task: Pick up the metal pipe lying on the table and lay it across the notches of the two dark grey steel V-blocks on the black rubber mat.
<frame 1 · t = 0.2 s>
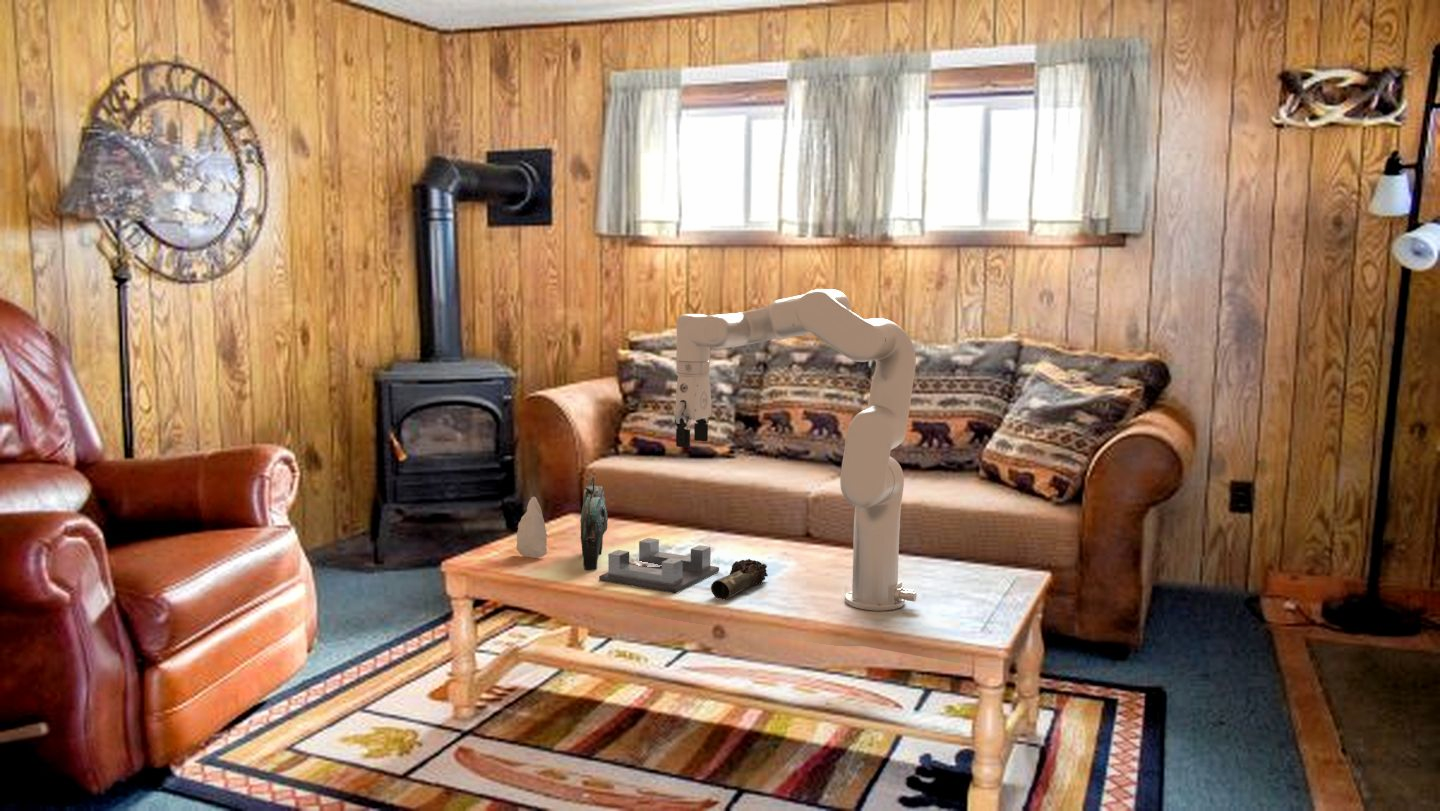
hand: (692, 443, 247), 30 cm above the table, tool pointing down, fingers open, 9 cm apart
stone tool: (531, 557, 265), on the table
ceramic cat: (594, 560, 263), on the table
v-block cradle: (660, 575, 250), on the table
metal pipe: (738, 590, 240), on the table
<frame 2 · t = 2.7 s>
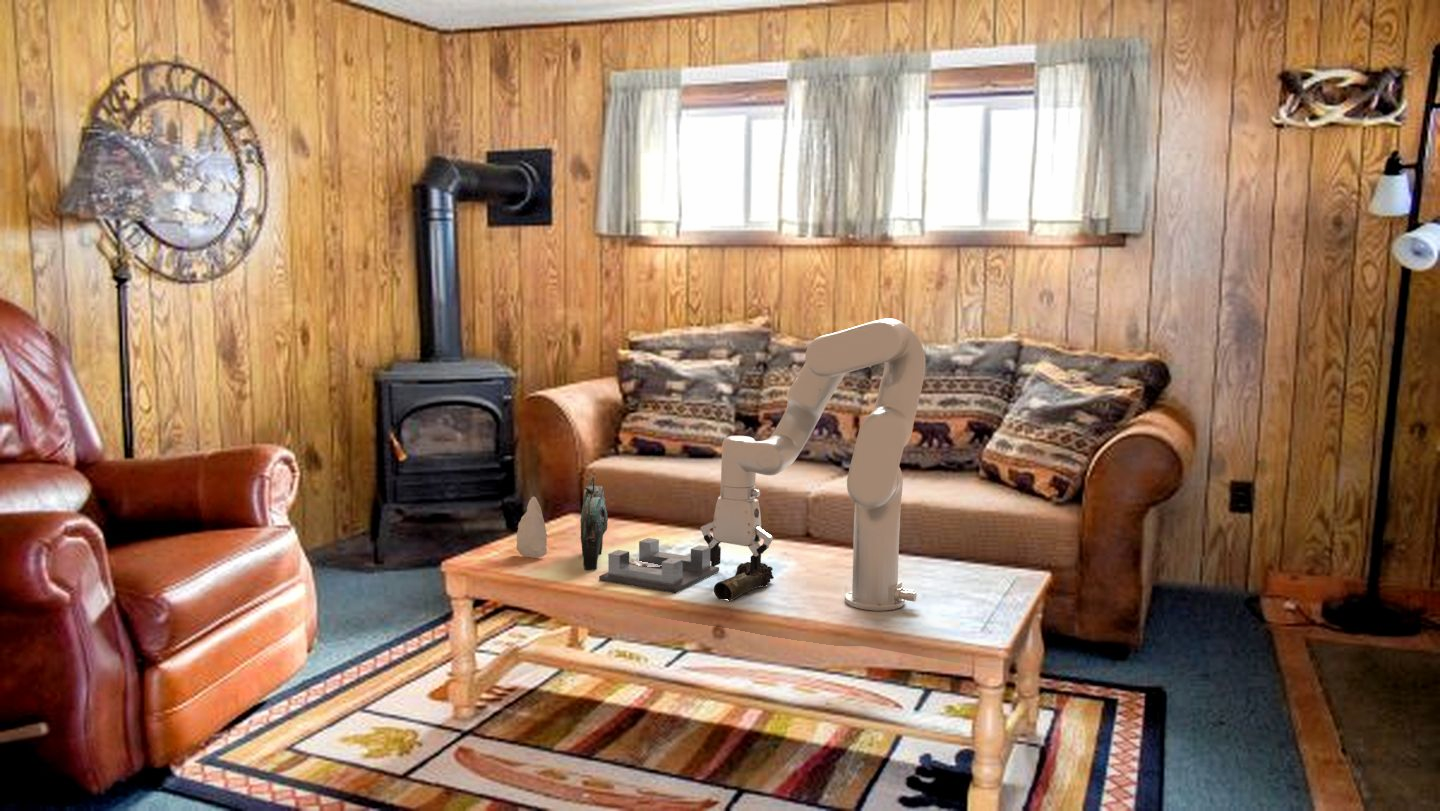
hand: (734, 568, 240), 4 cm above the table, tool pointing down, fingers open, 9 cm apart
metal pipe: (743, 592, 239), on the table, touching gripper
everything else where it was.
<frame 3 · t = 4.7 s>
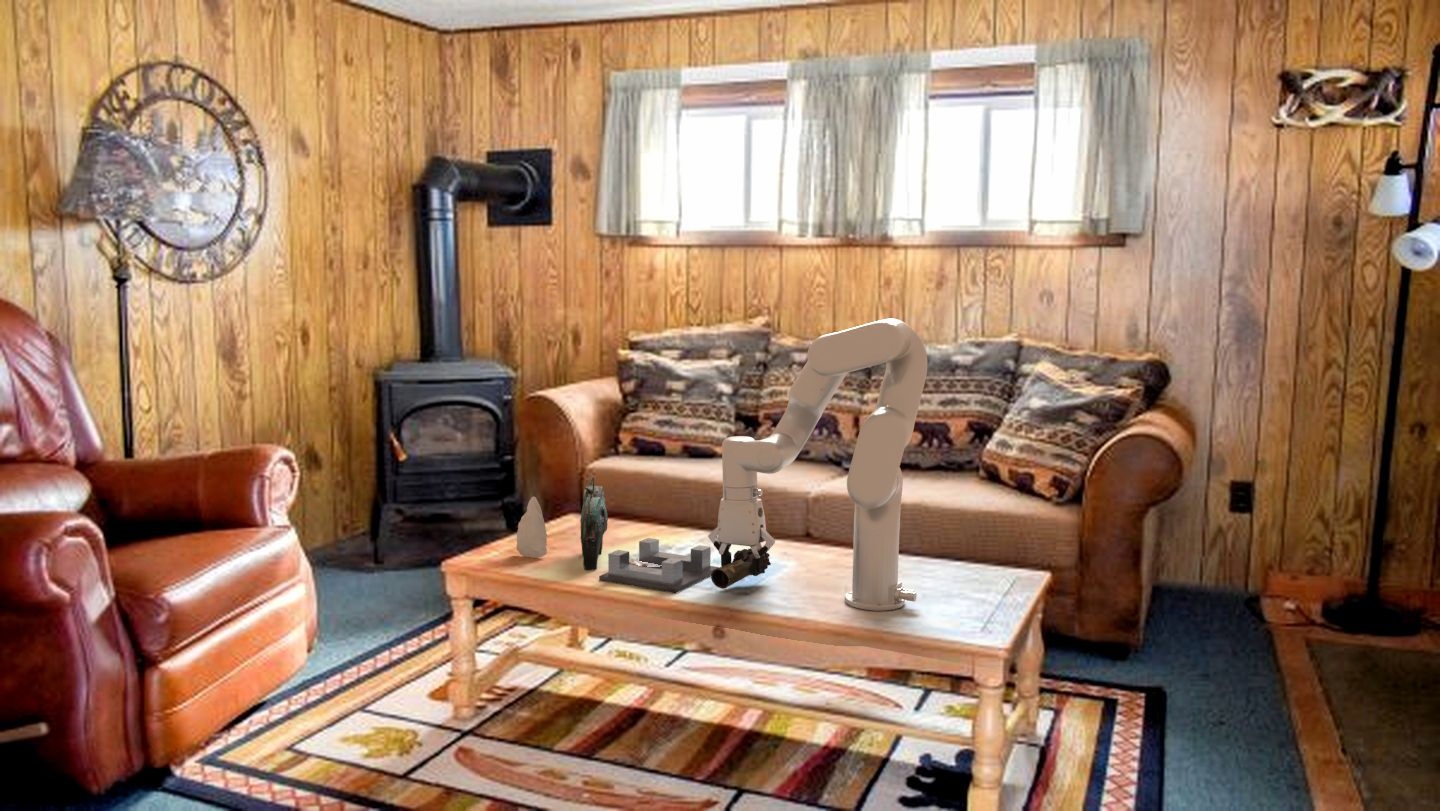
hand: (741, 572, 240), 4 cm above the table, tool pointing down, fingers closed on metal pipe, 6 cm apart
metal pipe: (740, 579, 240), point 2 cm above the table, touching gripper
everything else where it was.
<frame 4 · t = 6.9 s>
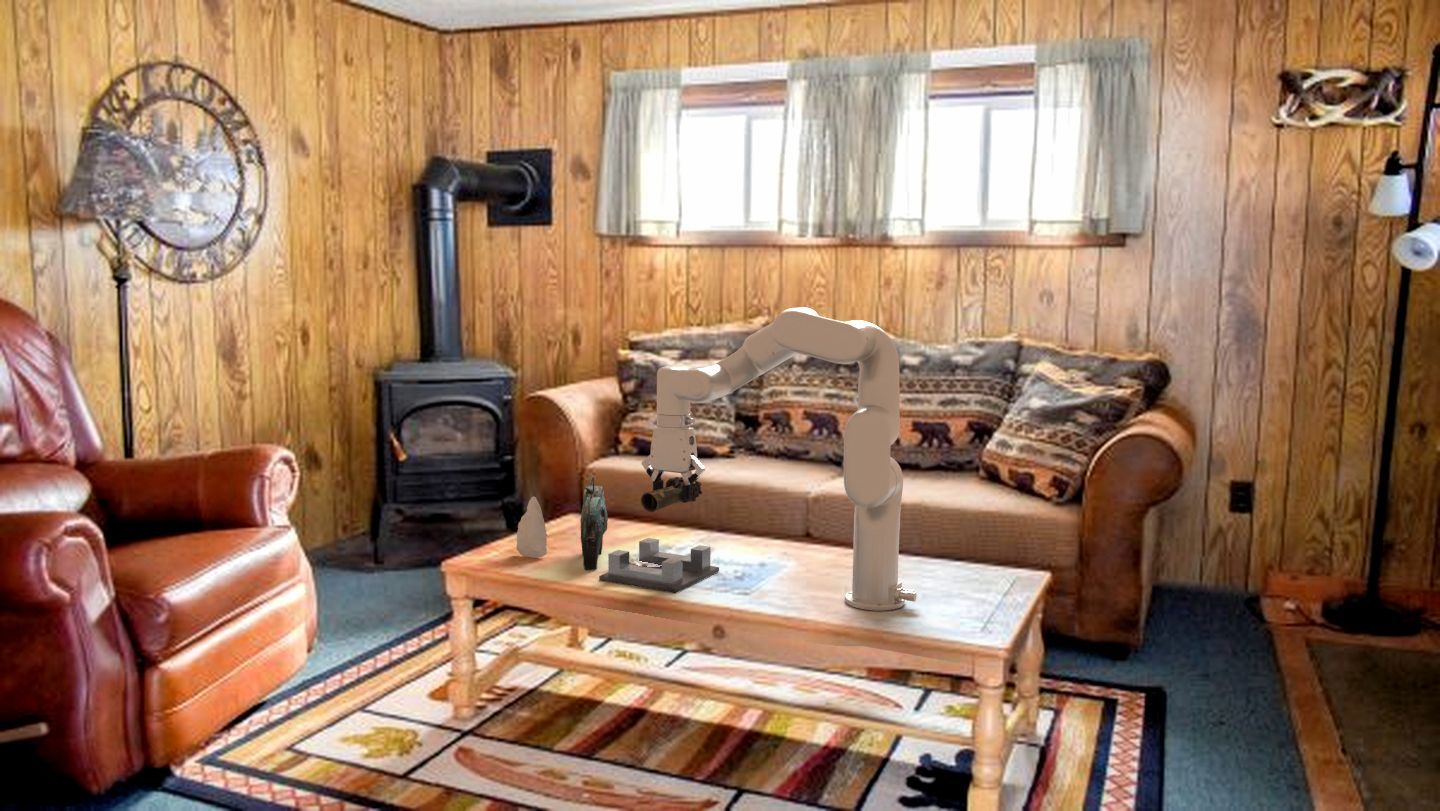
hand: (672, 499, 246), 18 cm above the table, tool pointing down, fingers closed on metal pipe, 6 cm apart
metal pipe: (671, 505, 246), point 17 cm above the table, touching gripper
everything else where it was.
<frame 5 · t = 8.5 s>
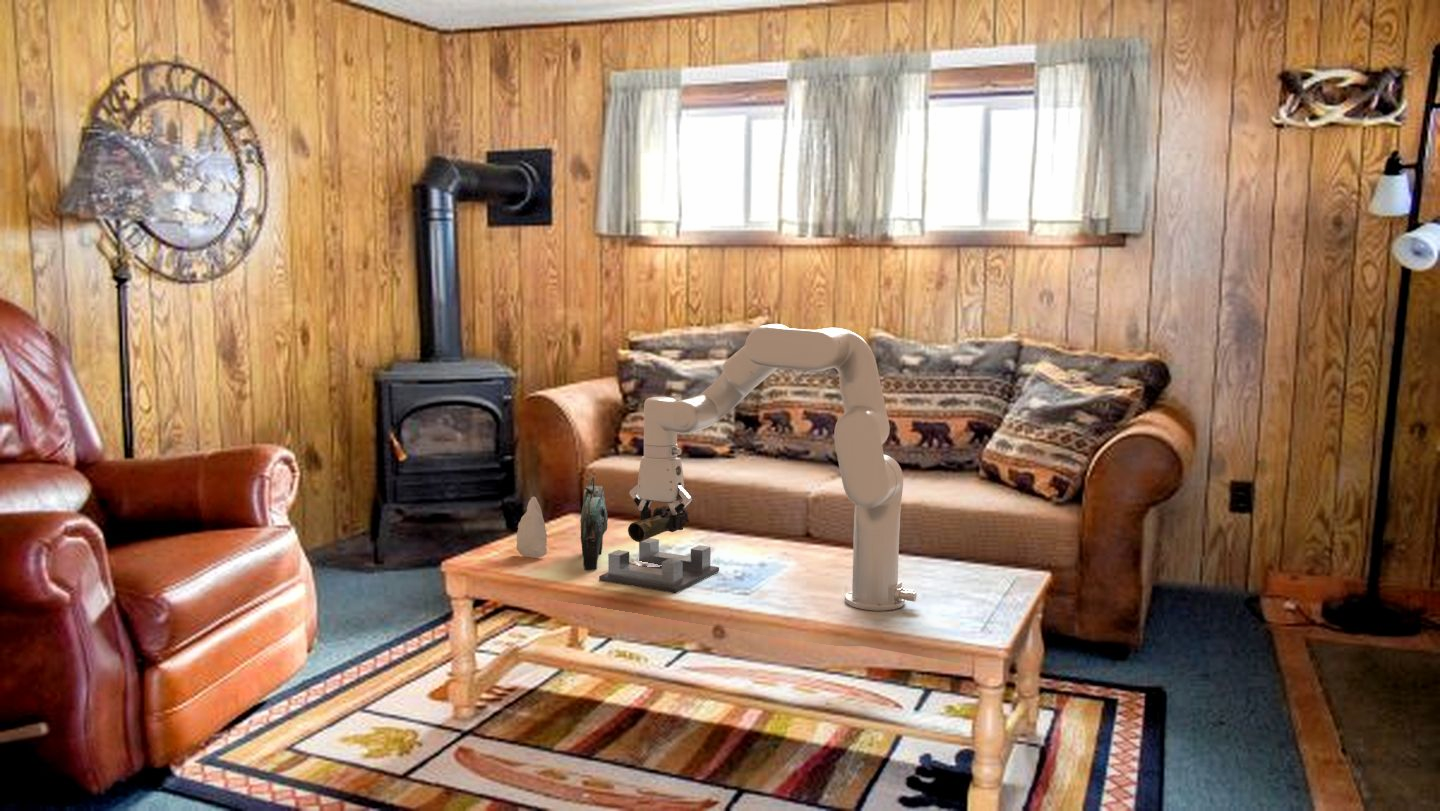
hand: (660, 528, 248), 11 cm above the table, tool pointing down, fingers closed on metal pipe, 6 cm apart
metal pipe: (658, 534, 248), point 10 cm above the table, touching gripper
everything else where it was.
when the fingers open (6 cm above the table, at t = 10.0 s): metal pipe drops 1 cm, resting on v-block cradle.
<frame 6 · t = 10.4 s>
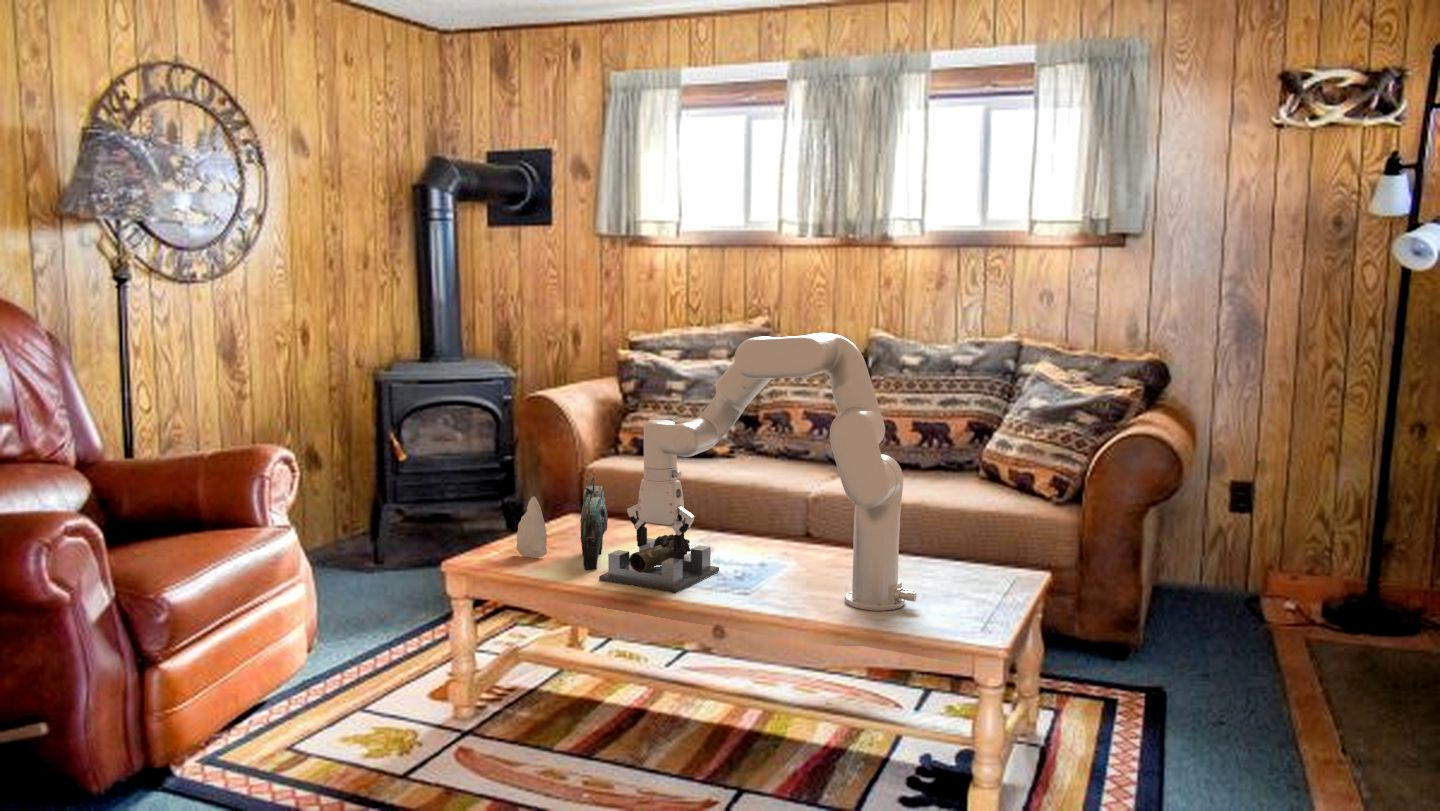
hand: (660, 548, 249), 6 cm above the table, tool pointing down, fingers open, 9 cm apart
metal pipe: (659, 564, 249), point 3 cm above the table, touching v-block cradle
everything else where it was.
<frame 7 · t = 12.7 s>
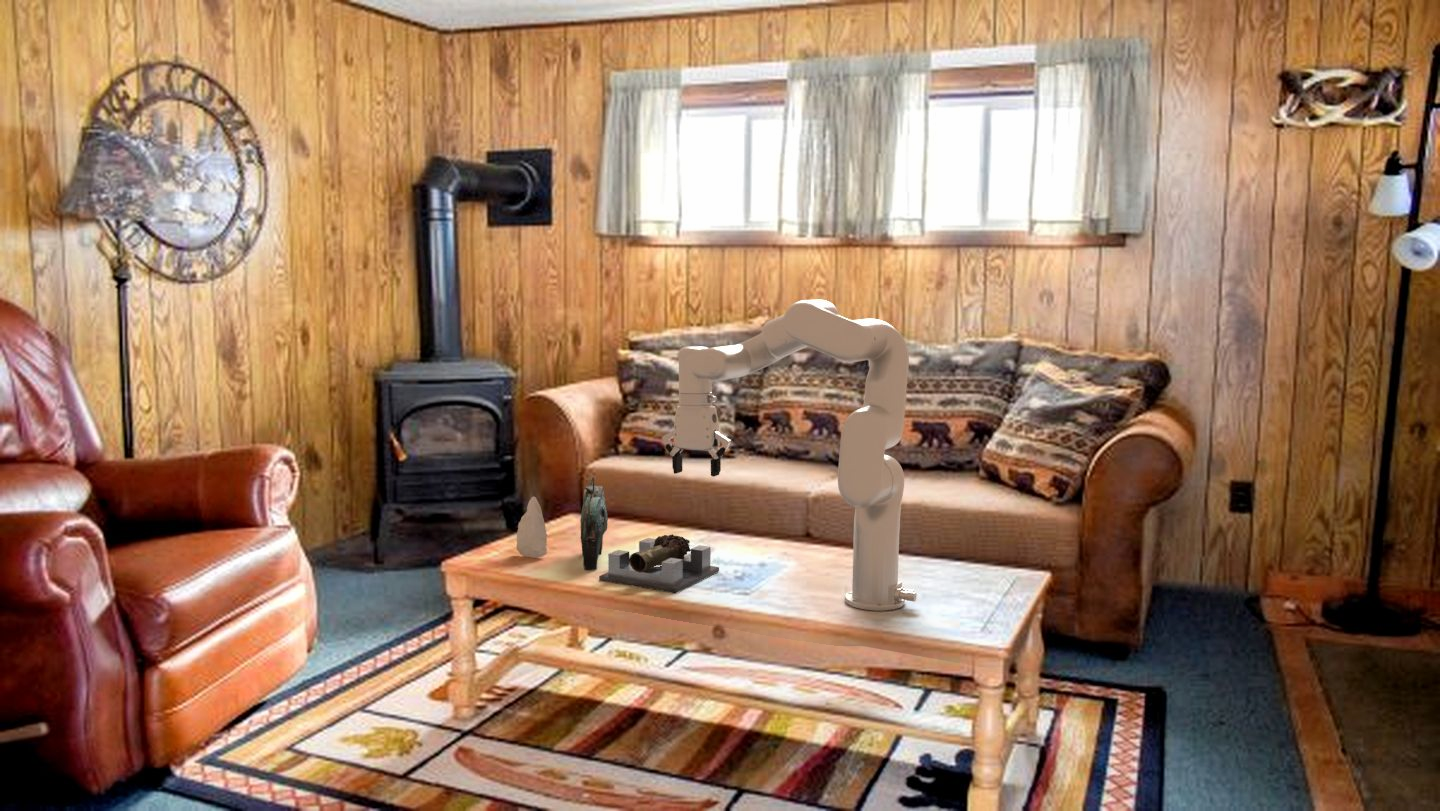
hand: (696, 474, 251), 23 cm above the table, tool pointing down, fingers open, 9 cm apart
nothing on the table moved.
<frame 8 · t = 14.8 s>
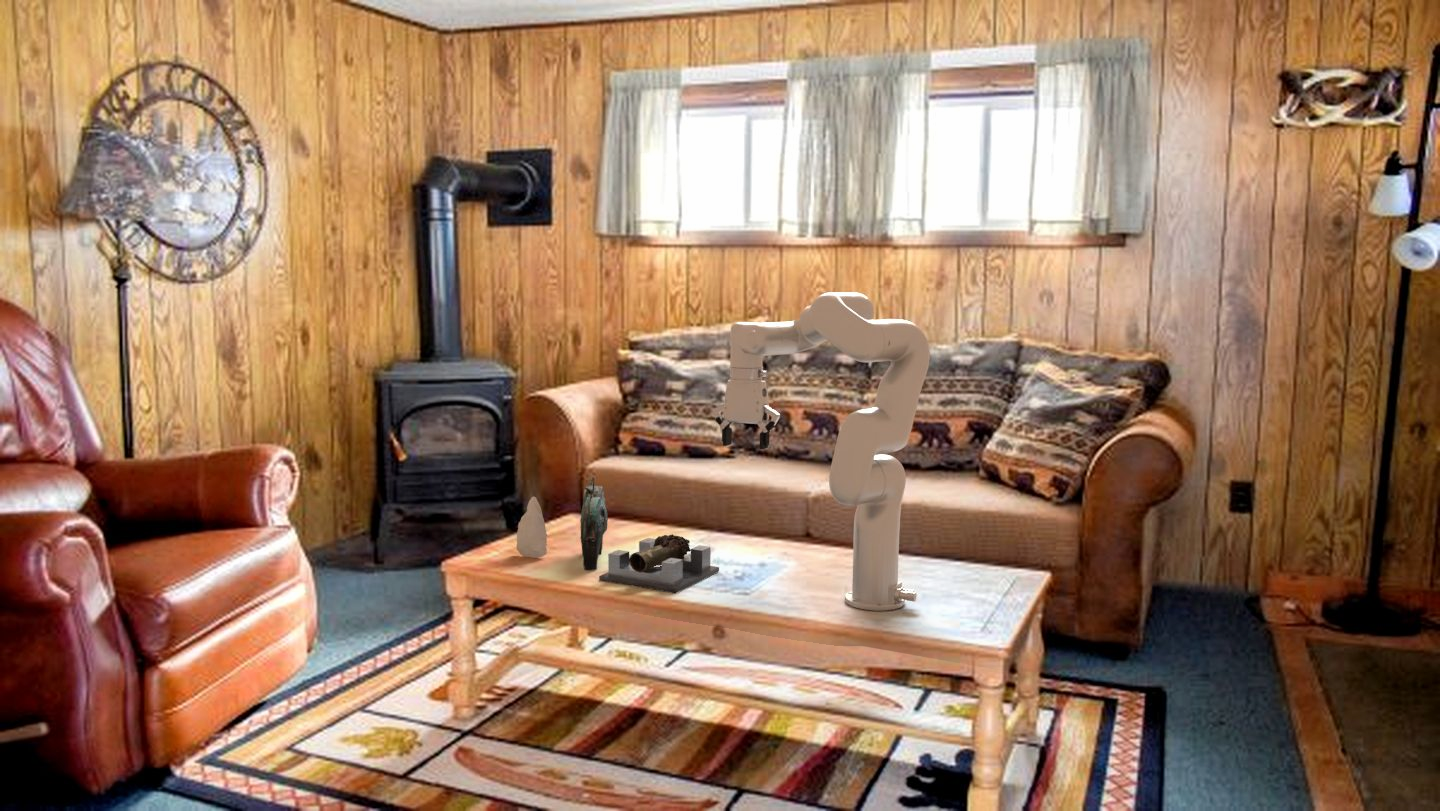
hand: (745, 446, 257), 28 cm above the table, tool pointing down, fingers open, 9 cm apart
nothing on the table moved.
at the end: metal pipe 0.2 cm off-centre on the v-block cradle, point 2.8 cm above the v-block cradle's base; metal pipe touching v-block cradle; the gripper is holding nothing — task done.
